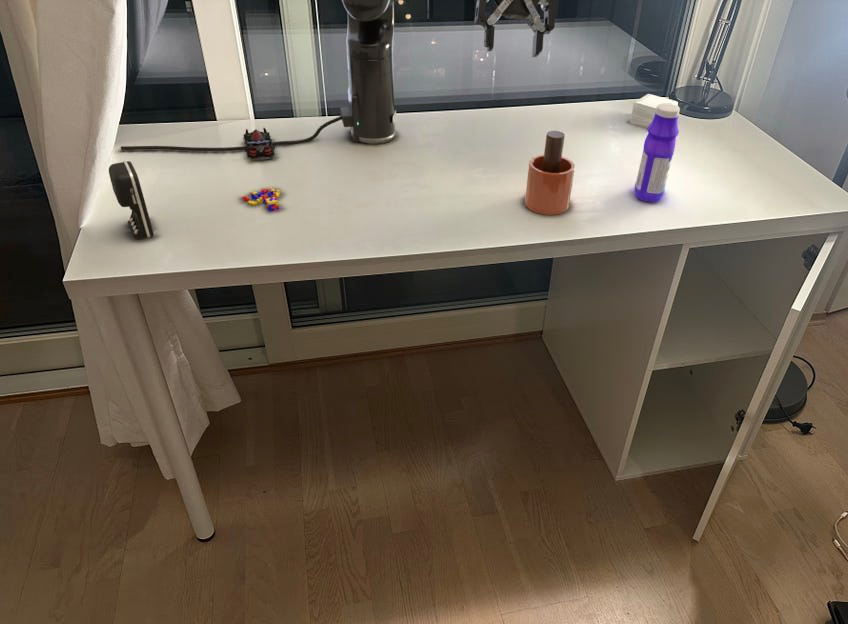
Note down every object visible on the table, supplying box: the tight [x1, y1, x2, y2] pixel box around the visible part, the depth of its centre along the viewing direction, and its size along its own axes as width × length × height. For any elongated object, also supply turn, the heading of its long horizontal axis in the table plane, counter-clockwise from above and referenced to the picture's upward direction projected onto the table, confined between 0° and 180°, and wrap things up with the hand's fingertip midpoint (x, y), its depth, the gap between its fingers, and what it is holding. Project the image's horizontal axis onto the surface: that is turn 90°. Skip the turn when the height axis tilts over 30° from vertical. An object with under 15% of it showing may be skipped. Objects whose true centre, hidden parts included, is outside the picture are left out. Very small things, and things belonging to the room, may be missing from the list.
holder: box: [524, 154, 576, 216], centre depth 130 cm, size 8×8×8 cm
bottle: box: [634, 103, 681, 203], centre depth 131 cm, size 7×6×17 cm
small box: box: [629, 93, 679, 129], centre depth 164 cm, size 8×8×5 cm
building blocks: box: [242, 186, 281, 212], centre depth 128 cm, size 6×8×2 cm
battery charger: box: [108, 160, 155, 239], centre depth 115 cm, size 7×4×11 cm, turn 30°
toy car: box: [242, 127, 276, 161], centre depth 144 cm, size 6×12×4 cm, turn 18°
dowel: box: [542, 130, 566, 173], centre depth 128 cm, size 3×3×13 cm
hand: (513, 52), depth 127 cm, fingers open, 8 cm apart
